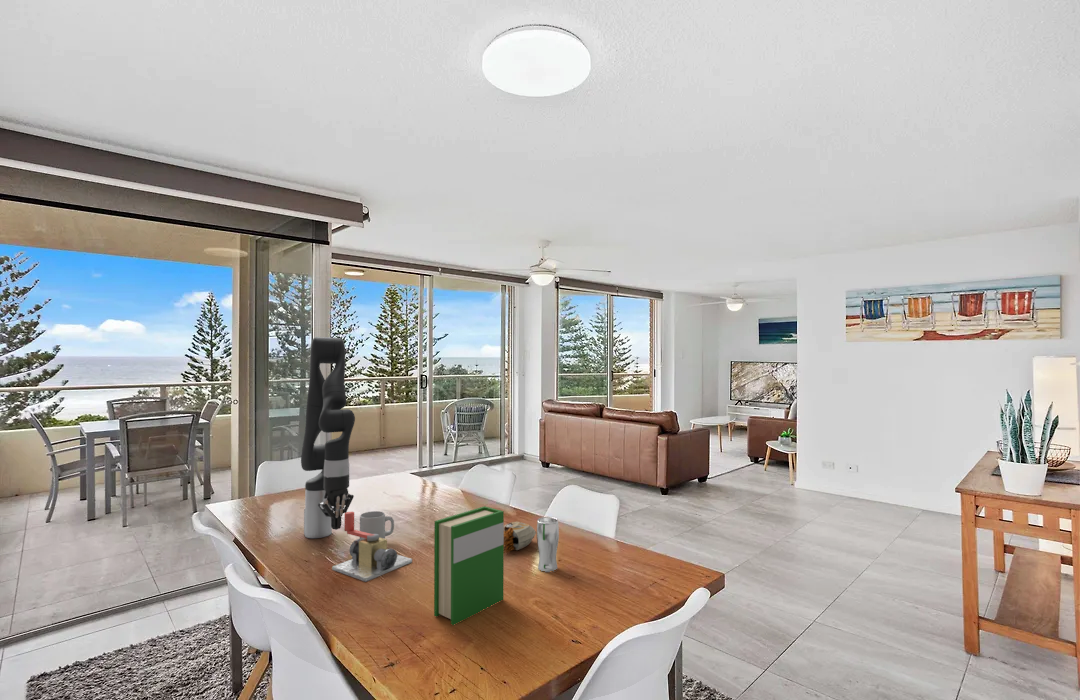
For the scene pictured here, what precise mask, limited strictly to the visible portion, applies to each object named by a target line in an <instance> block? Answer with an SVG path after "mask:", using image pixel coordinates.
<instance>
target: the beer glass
mask: <svg viewBox="0 0 1080 700" xmlns="http://www.w3.org/2000/svg"><path fill="white" fill-rule="evenodd" d="M559 539H560V528H559V519H558V518H556V517H554V516H553V517H552V516H543V517H539V518H538V519H537V520H536V542H537V543H536V544H537V550H538V554H539V556H538V558H539V559H538V564H537V565H538V566H537V570H538V571H540V570H541V572H542V571H545V572H544V573H551V572H550V571H553V572H555V571H554V570H556V569H557V570H558V564H557V553H558V545H559ZM557 570H556V571H557Z"/></svg>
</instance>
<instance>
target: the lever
mask: <svg viewBox="0 0 1080 700" xmlns="http://www.w3.org/2000/svg"><path fill="white" fill-rule="evenodd" d="M343 526H344V529H343V530H344V532H346V534H347V535H349V536H350V535H351V536H355V537H359V538H360V537H362V538H366V539H367V541H377V540H379V534H370V533H366V532H362V531H360V530H357V529H355V512H354V511H347V512H346V513H344V525H343Z"/></svg>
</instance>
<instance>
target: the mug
mask: <svg viewBox="0 0 1080 700" xmlns="http://www.w3.org/2000/svg"><path fill="white" fill-rule="evenodd" d="M388 521H389V522H390V529H389V530H386V522H388ZM394 529H395V520H394V518H393V517H392V516H390V515H386V514H385V512H383V511H379V510H378V511H377V510H373V511H366V512H364V513H361V514H360V515H359V531H362V532H366V533H370V534H379V537H380V538H384V539H386V537H387V536H388V537H389V536H390V535H392V533H393V532H394ZM359 539H361V540H364V539H366V538H362V537H359Z"/></svg>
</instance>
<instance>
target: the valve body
mask: <svg viewBox="0 0 1080 700" xmlns="http://www.w3.org/2000/svg"><path fill="white" fill-rule="evenodd" d="M349 555H350V556H351V559H349V560H346V561H344V562H340V563H337V564H336V565H333V566H332V567H331V568H332V569H331V570H332V571H335V572H338V573H341V574H343V575H346V576H349V577H351V578H353V579H357V580H360V581H362V582H363V583H365V582H369V581H371V580H374V579H375V578H378V577H380V576H383V575H385V574H387V573H389V572H392V571H395V570H397V569H399V568H402V567H404V566H406V565H409V564H411V563H413V558H410V557H406V556H403V555H400V554H398V552H397V551H396V549H394V548H389V547H388V539H386V538H385V539H384V538H380V537H379V540H377V541H367V539H364V540H361V539H360V538H357V539H355V540H353V542H352V543H351V544H350V545H349Z"/></svg>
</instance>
